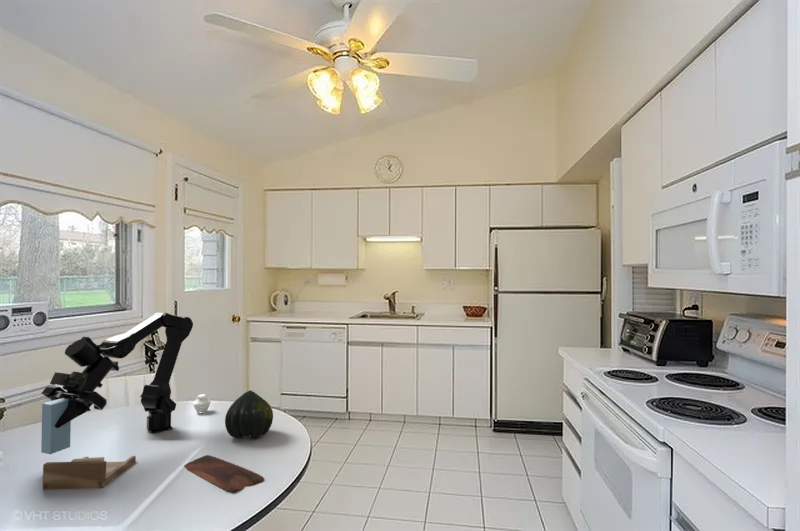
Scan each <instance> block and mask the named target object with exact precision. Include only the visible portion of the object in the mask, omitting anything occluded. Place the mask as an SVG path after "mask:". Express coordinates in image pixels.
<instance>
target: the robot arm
mask: <svg viewBox="0 0 800 531" xmlns="http://www.w3.org/2000/svg"><path fill="white" fill-rule="evenodd" d="M193 326H194V322H193V320H192V319H191V317H188V316H177V315H174V314H171V313H168V312H155V313H153V315H152V316H150V317H149V318H147V319H146V320H144V321H142V322H140V323H139V324H138V325H136V326H134V327H133V328H131V329H130V330H128V331H126V332H123V333H121V334H117V335H113V336H111V337H108V338H106V339H104V340H103V341H101V343H98V344H97V343H95V342H94V341H93V339H92V338H90V337H89V336H82V337H81V339H78V340H76V341H73V342H72V343H71V344H69V345H68V346H67V347H66V348H65V350H64V354H65V356H67V357H68V358H69V359H70V360H72V361H73V362H74V363H75V364H77V365H78V366H79V367H81V368H83V367H84V369H83V371H81V372H79V371H72V372H71V373H65V372H56V371H55V372H54V374H53V376H52V378H51V380H50V383H49V384H50V385H49V386H46V387H45V388H44V389H43V391H41V395H43V396H45V398H47V399H49V400H50V401H54V400H57V399H61V398H64V399H69V401H68V407H67V408H66V410H65V411H64V413H63V414H62V415H61V417H60V418H59V420H58V421H57V423H56V424H55V427H56V428H59V427H61V426H63V425H64V424H66V423H68V422H69V421H71V422H72V421H73V420H74V419H76V418H78V417H80V416H81V415H83V414H85V413H87V412H91V410H92V409H91V406H92V405H93V408H94V410H98V411H103V410H104V408H106V406H107V399H106V398H105V397H104V396H103V395H101V394H100V393H98V392H97V391H95V390H96V389H97V388H102V386H104V384H102V382H103V380H104V379H106V376H107V375H108V374H109V373H110V372H111V371H112V372H118V371H120V366H119V362H118V361H113V360H112V359H124V358H126V357H127V356H129V354H130V353H132V351H134V350H135V347H136V346H137V344H138V343H139V342H141V341H142V340H144V339H146V338H147V337H149V336H150V335H151V334H153V333H154V332H156V331H157V330H159V329H161V328H162V327H163V328H165V331H164V334H165V337H166V342H165V344H164V348H163V351H162V352H161V356H160V360H159V363H158V366H157V369H156V371H155V375H154V378H153V380H152V381H151V382H150V383H149V384H145V385H143V390H142V393H141V395H140V398H141V399H140V404H141V405H142V407H143V409H144V411H145V412H146V413H147V412H148V415H147V417H146V429H147V430H148V432H150V434H156V433H159V432H164V431H169V430H172V429H173V426H172V413H173V412H174V411H175V410H176V408H177V403H176V402H175V401H174V400H173V399H172V398H171V396H172V390H171V386H170V381H171V378H172V375H173V371H174V368H175V366H176V362H177V359H178V356H179V352H180V350H181V346H182V344H183V342H184V341H185V340H186V339H187V338H188V337H189V336H190V334H191V331H192V330H193ZM55 385H58V386H55ZM60 386H62V387H60Z"/></svg>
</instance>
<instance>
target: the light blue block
mask: <svg viewBox="0 0 800 531" xmlns="http://www.w3.org/2000/svg"><path fill="white" fill-rule="evenodd" d="M68 401H69V399H64V398H61V399H57V400H54V401H51V400H50V401H47V402H42V404H41V406H42V407H41V408H42V409H41V443H40V444H41V448H40V449H41V452H40V453H42V454H47V455H53V454H55V453H58V452H60V451H61V452H62V451H63V450H66V449H69V448H71V432H72V431H71V430H72V429H71V424H72V423H71V422H72V420H71V421H69V422H68V423H66V424H64V425H63V426H61V427H59V428H56V427H55V424H56V423H57V421H58V420H59V418H60V417H61V415H62V414H63V413H64V411H65V410H66V408H67V407H68Z"/></svg>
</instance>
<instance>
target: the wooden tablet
mask: <svg viewBox="0 0 800 531" xmlns="http://www.w3.org/2000/svg"><path fill="white" fill-rule="evenodd" d="M183 467H184V468H185V469H186V471H188V472H189V473H191V474H194V475H195V476H198V477H199V478H202V479H204V480H206V481H207V482H209V483H211V484H212V485H214V486H217V487H218V488H219V489H220V490H223V491H225V492H227V493H229V494H237V493H239V492H241V491H243V490H245V488H247V487H252V486H255V485H258V484H261V483H263V481H264V480H265V478H264V476H262V475H260V474H259V473H256V472H255V471H252V470H249V469H247V468H245V467H243V466H240V465H237V464H235V463H233V462H229V461H227V460H224V459H222V458H219V457H216V456H213V455H210V454H207V455H204V456H203V455H202V456H200V457H198V458H196V459H194V460H191V461H190V462H187V463H186V464H184V465H183Z"/></svg>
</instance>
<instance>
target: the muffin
mask: <svg viewBox="0 0 800 531" xmlns="http://www.w3.org/2000/svg"><path fill="white" fill-rule="evenodd" d="M192 405H193V408H194V410H195V411H196V413H197V412H205V413H207V412H206V411H208V409H209V408H210V407H211V399H209V398H208V396H207V394H202V393H201V394H198V395H197V397H196V398H195V400H194V401H193V402H192Z"/></svg>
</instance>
